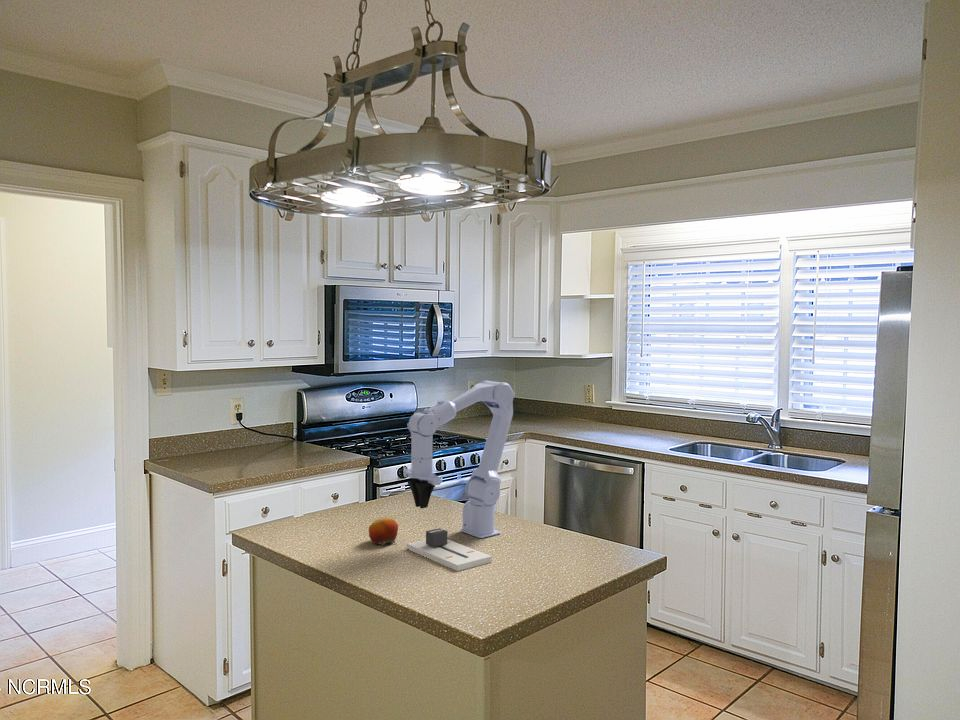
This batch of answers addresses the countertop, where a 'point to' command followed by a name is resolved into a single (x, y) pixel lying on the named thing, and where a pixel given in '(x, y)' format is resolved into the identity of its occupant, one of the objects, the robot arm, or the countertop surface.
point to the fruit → (383, 531)
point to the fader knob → (436, 537)
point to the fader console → (451, 554)
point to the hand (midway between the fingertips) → (421, 506)
